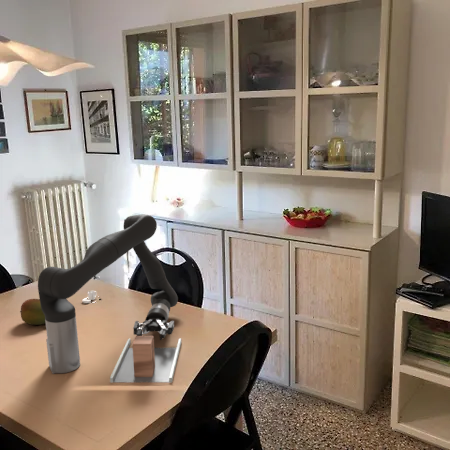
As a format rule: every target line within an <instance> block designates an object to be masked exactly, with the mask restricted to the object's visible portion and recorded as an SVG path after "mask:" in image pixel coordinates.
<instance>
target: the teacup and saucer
mask: <svg viewBox="0 0 450 450" xmlns="http://www.w3.org/2000/svg"><path fill="white" fill-rule="evenodd" d="M96 296H98V292H97V291H96V290H88V291H87V297H85V298H83V299H81V302H82V303H83V304H94V303H95V302H96V300H95V299H96ZM87 298H88V299H87ZM91 300H93V301H91ZM91 302H92V303H91Z"/></svg>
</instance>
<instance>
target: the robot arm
mask: <svg viewBox="0 0 450 450" xmlns="http://www.w3.org/2000/svg"><path fill="white" fill-rule="evenodd" d="M157 228H158V224H157V220H156V219H155V217H153V216H152V215H149V214H146V213H145V214H135V215H129V216H127V217H126V218H125V219H124V221H123V229H122V230H119V231H116V232H113V233H110V234H107V235H105V236H103V237H102V238H99V239H98V240H97V241H95V242H93V243H92V244H91V245H90V246H89V247H88V248H87V250H86V251H85V253H84V257H83V259H82V260H81V261H80V262H78V263H77V264H75V265H74V266H72V267H70V268H63V267H57V266H48V267H45V268H44V269H42V271H41V272H40V273H39V275H38V279H37V290H38V291H37V292H38V299H40V304H41V309H42V312H43V313H44V315H45V322H46V323H45V328H46V329H45V331H46V348H47V359H48V365H49V368H50V371H51V374H66V373H70V372H73V371H75V370H77V369H78V368H79V367H80V366H81V357H80V347H79V337H78V335H79V334H78V329H77V328H78V326H77V314H76V307H75V305H74V304H72V303H71V302H70V301H69V300H68V299H69V298H71V297H73V296H74V295H75V294H77V292H79V290H81V289H82V288H83V287H84V286H85V285H86V284H87V283H88V282H89V281H90V280H92V279H93V278H94V277H96V276H97V275H98V274H99V273H101V272H102V271H103V270H105V269H106V268H108V267H109V266H111V265H113V263H115V262H116V261H118V260H119V259H120V258H121V257H122V256H124V255H125V254H127V253H128V252H129V251H131V250H132V249H133V251H134V253H135V255H136V256H137V258H138V260H139V262H140V264H141V266H142V268H143V271H144V273H145V276H146V279H147V283H148V285H149V288H151V289H153V290H161V291H157V292H154V293H153V294H151V297H150V303H151V304H150V305H151V307H150V308H149V310H148V312H147V315H146V317H145V319H144V321H143V322H139V320H135V321H134V324H133V328H132V329H133V335H134V336H144V335H147V334H149V333H151V332H158V333H159V340H161V341H162V340H163V339H165V338H166V336H167V335H172V334H173V333H174V329H175V320H171V321H170V322H168V320H169V315H170V311H171V308H173V307H176V306H177V305H178V303H179V302H178V301H179V297H178V295H177V293H176V291H175V289H174V288H173V287H172V286H171V283H170V282H169V281H168V279H167V277H166V273H165V269H164V267H163V266H162V263H161V262H160V260H159V259H158V258H157V257H156V255H155V254H154V253H153V252H152V251H151V250H150V248H149V247H148V245H147V244H146V241H147V240H149V239H151V238H152V237H153V236H154V235H155V234H156V231H157Z"/></svg>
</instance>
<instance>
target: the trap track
mask: <svg viewBox="0 0 450 450" xmlns="http://www.w3.org/2000/svg"><path fill="white" fill-rule="evenodd" d="M131 341H132V340H131V338H128V339H127V340H126V343H125V345H124V347H123V349H122V352H121V353H120V355H119V358H118V360H117V362H116V364H115V366H114V368H113V370H112V372H111V375H110V376H109V377H110V378H109V383H111V384H112V383H113V384H114V383H115V384H116V383H173V381H174V380H173V379H174V375H175V372H176V366H177V364H178V363H177V362H178V358H179V354H180V351H181V346H182V338H178V340H177V341H178V342H177V344H176V347H154V355H155V370H154V373H153V377H134V362H133V347H130V345H131V344H132V342H131Z"/></svg>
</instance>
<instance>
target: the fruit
mask: <svg viewBox="0 0 450 450" xmlns="http://www.w3.org/2000/svg"><path fill="white" fill-rule="evenodd" d="M19 313H20V316H21V317H20V318H21V320H22V321H23V322H24V323H25V324H28V325H34V326H35V325H36V326H37V325H38V326H39V325H44V324H46V322H45V315H44V313H43V312H42V309H41V304H40V298H29V299H27V300H25V301H23V302H22V303H21V306H20V311H19Z"/></svg>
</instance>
